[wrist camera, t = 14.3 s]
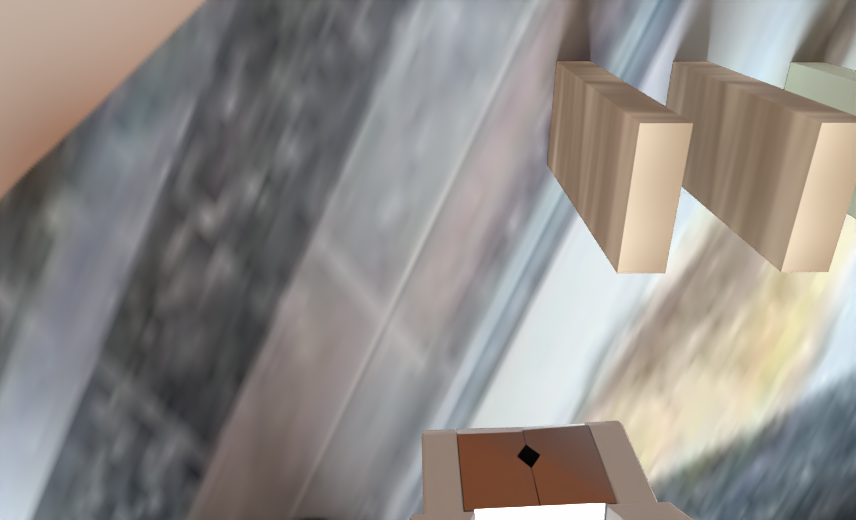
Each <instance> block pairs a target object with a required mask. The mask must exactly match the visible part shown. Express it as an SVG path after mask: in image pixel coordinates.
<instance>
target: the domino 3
mask: <svg viewBox="0 0 856 520" xmlns="http://www.w3.org/2000/svg"><path fill="white" fill-rule="evenodd" d="M784 90H787V91H789V92H792V93H795V94H797V95H800V96H803V97H806V98H808V99H811V100H814V101H817V102H819V103H822V104H825V105H828V106H830V107H833V108H836V109H838V110H841V111H844V112H847V113H849V114H852V115H855V116H856V71H855V70H851V69H847V68H844V67H840V66H836V65H832V64H829V63H825V62H791V64H790V68H789V72H788V76H787V80H786V84H785V88H784ZM847 214H849V215H850V216H852V217H854V218H855V219H856V185H855V188H854V191H853V194H852V198H851V201H850V204H849V207H848V210H847Z"/></svg>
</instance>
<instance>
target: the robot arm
mask: <svg viewBox="0 0 856 520" xmlns="http://www.w3.org/2000/svg"><path fill="white" fill-rule="evenodd" d="M422 471H423V514H416V515H413V516H412V517H411V518H410V520H693V519H692V518H690V517H689V516H687V515H686V514H685V513H683V512H682V511H680V510H679V509H678V508H676V507H675V506H674V505H672V504H671V503H669V502H658V501H657V499H656V497H655V494H654V492H653V490H652V488H651V486H650V483H649V481H648V479H647V477H646V475H645V472H644V470H643V468H642V466H641V464H640V462H639V459H638V457H637V455H636V453H635V451H634V448H633V446H632V444H631V442H630V440H629V437H628V435H627V433H626V431H625V429H624V426H623V425H622V424H621V423H620V422H619V421H606V422H591V423H585V424H569V425H552V426H534V427H512V428H475V429H456V431H455V430H424V431H423V434H422Z"/></svg>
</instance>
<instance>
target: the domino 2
mask: <svg viewBox="0 0 856 520" xmlns="http://www.w3.org/2000/svg"><path fill="white" fill-rule="evenodd" d="M666 107H667V108H669V109H670V110H672V111H674V112H675V113H677V114H679V115H680V116H682V117H684V118H685V119H687V120H689V121H690V122H692V123H693V127H692V133H691V138H690V143H689V149H688V154H687V159H686V165H685V170H684V175H683V181H682V187H683V188H684V189H685V190H686V191H687V192H689V193H690V194H691V195H692V196H693V197H694V198H696V199H697V200H698V201H699V202H700V203H701V204H703V205H704V206H705V207H706V208H707V209H708V210H710V211H711V212H712V213H713V214H714V215H715V216H717V217H718V218H719V219H720V220H721V221H722V222H723V223H725V224H726V225H727V226H728V227H729V228H730V229H732V230H733V231H734V232H735V233H736V234H737V235H739V236H740V237H741V238H742V239H743V240H744V241H746V242H747V243H748V244H749V245H750V246H751V247H752V248H754V249H755V250H756V251H757V252H758V253H759V254H761V255H762V256H763V257H764V258H765V259H766V260H768V261H769V262H770V263H771V264H772V265H773V266H775V267H776V268H777V269H778V270H779V271H780V272H828V271H829V268H830V265H831V262H832V258H833V255H834V252H835V249H836V246H837V242H838V239H839V236H840V233H841V230H842V226H843V223H844V220H845V217H846V214H847V210H848V207H849V204H850V201H851V198H852V194H853V191H854V188H855V185H856V116H855V115H852V114H849V113H847V112H844V111H841V110H838V109H836V108H833V107H830V106H828V105H825V104H822V103H819V102H817V101H814V100H811V99H808V98H806V97H803V96H800V95H797V94H795V93H792V92H789V91H787V90H784V89H781V88H778V87H776V86H773V85H770V84H767V83H765V82H762V81H759V80H756V79H754V78H751V77H748V76H746V75H743V74H740V73H737V72H735V71H732V70H729V69H726V68H724V67H721V66H718V65H715V64H713V63H710V62H707V61H673V66H672V72H671V78H670V84H669V90H668V96H667V102H666Z"/></svg>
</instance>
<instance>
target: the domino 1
mask: <svg viewBox="0 0 856 520" xmlns="http://www.w3.org/2000/svg"><path fill="white" fill-rule="evenodd" d="M692 127H693V123H692V122H690V121H689V120H687V119H685V118H684V117H682V116H680V115H679V114H677V113H675V112H674V111H672V110H670V109H669V108H667V107H666V106H664V105H662V104H661V103H659V102H657V101H656V100H654V99H652V98H651V97H649V96H647V95H646V94H644V93H642V92H641V91H639V90H637V89H636V88H634V87H632V86H631V85H629V84H627V83H626V82H624V81H623V80H621V79H619V78H618V77H616V76H614V75H613V74H611V73H609V72H608V71H606V70H604V69H603V68H601V67H599V66H598V65H596V64H594V63H593V62H591V61H556V72H555V83H554V94H553V105H552V117H551V128H550V139H549V150H548V161H547V165H548V167H549V168H550V170H551V171H552V173H553V174H554V176H555V178H556V179H557V181H558V182H559V184H560V185H561V187H562V188H563V190H564V192H565V193H566V195H567V196H568V198H569V199H570V201H571V202H572V204H573V206H574V207H575V209H576V210H577V212H578V213H579V215H580V216H581V218H582V219H583V221H584V223H585V224H586V226H587V227H588V229H589V230H590V232H591V233H592V235H593V237H594V238H595V240H596V241H597V243H598V244H599V246H600V247H601V249H602V251H603V252H604V254H605V255H606V257H607V258H608V260H609V261H610V263H611V265H612V266H613V268H614V269H615V271H616V272H617V273H665V271H666V266H667V260H668V255H669V250H670V244H671V239H672V234H673V228H674V223H675V218H676V212H677V207H678V202H679V196H680V191H681V186H682V181H683V175H684V170H685V165H686V159H687V154H688V149H689V143H690V138H691V133H692Z"/></svg>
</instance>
